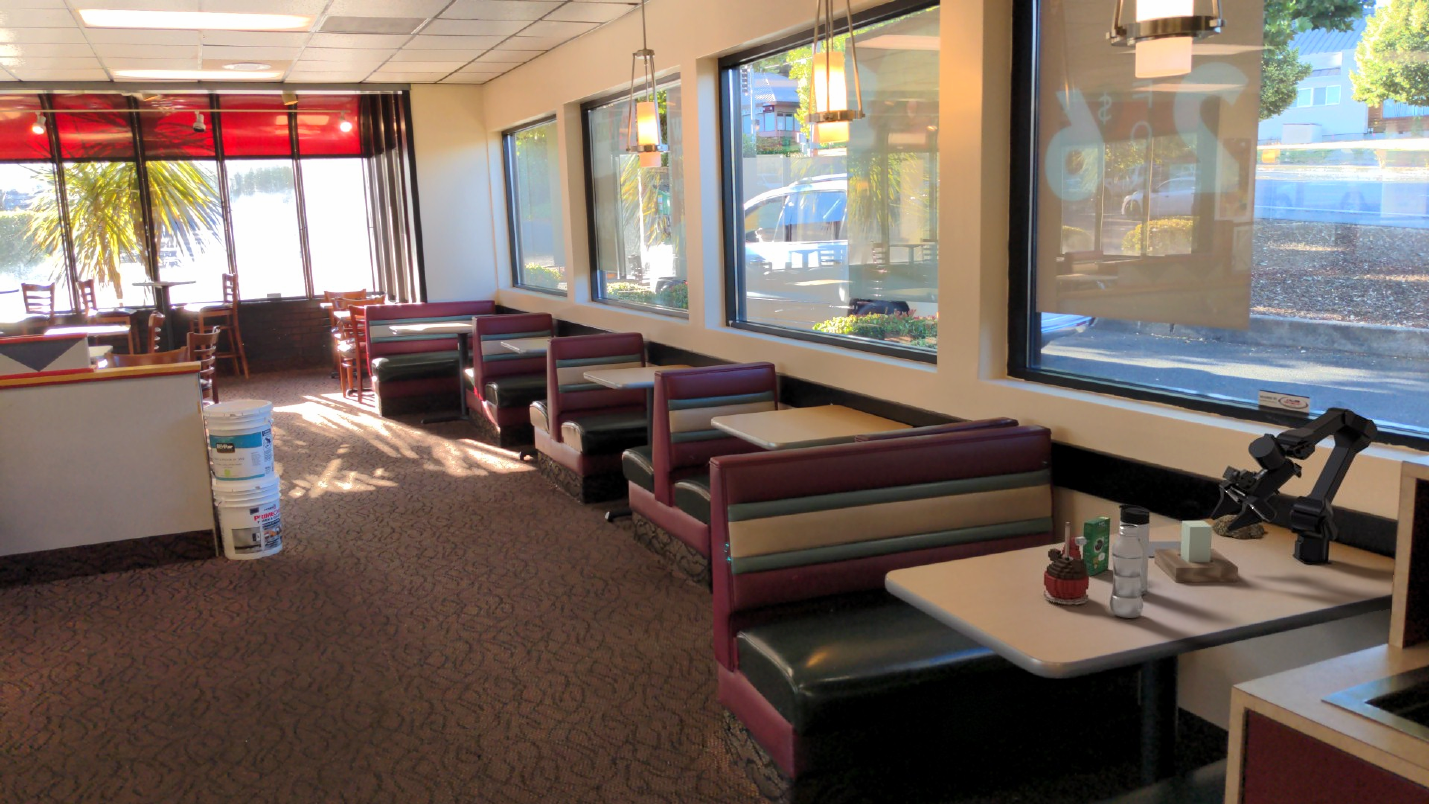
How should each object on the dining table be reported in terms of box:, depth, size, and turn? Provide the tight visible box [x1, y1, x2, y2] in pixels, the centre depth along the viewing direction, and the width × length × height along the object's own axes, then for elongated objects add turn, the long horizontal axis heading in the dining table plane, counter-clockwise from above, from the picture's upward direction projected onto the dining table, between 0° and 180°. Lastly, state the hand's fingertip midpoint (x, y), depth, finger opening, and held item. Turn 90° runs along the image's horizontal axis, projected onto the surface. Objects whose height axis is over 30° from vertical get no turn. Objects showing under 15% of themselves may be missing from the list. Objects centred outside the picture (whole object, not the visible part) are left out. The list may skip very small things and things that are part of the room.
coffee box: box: [1081, 515, 1111, 577], centre depth 249 cm, size 8×3×13 cm, turn 129°
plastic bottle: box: [1109, 524, 1144, 619], centre depth 220 cm, size 6×7×20 cm
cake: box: [1043, 521, 1090, 605], centre depth 230 cm, size 11×9×18 cm
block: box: [1180, 520, 1213, 562], centre depth 246 cm, size 5×5×12 cm
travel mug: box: [1118, 503, 1151, 596], centre depth 234 cm, size 6×7×20 cm
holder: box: [1154, 548, 1239, 583], centre depth 247 cm, size 14×14×4 cm
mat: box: [1148, 540, 1181, 559], centre depth 264 cm, size 12×12×1 cm
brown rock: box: [1211, 514, 1265, 540], centre depth 276 cm, size 13×12×5 cm
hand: (1219, 524), depth 245 cm, fingers open, 9 cm apart
